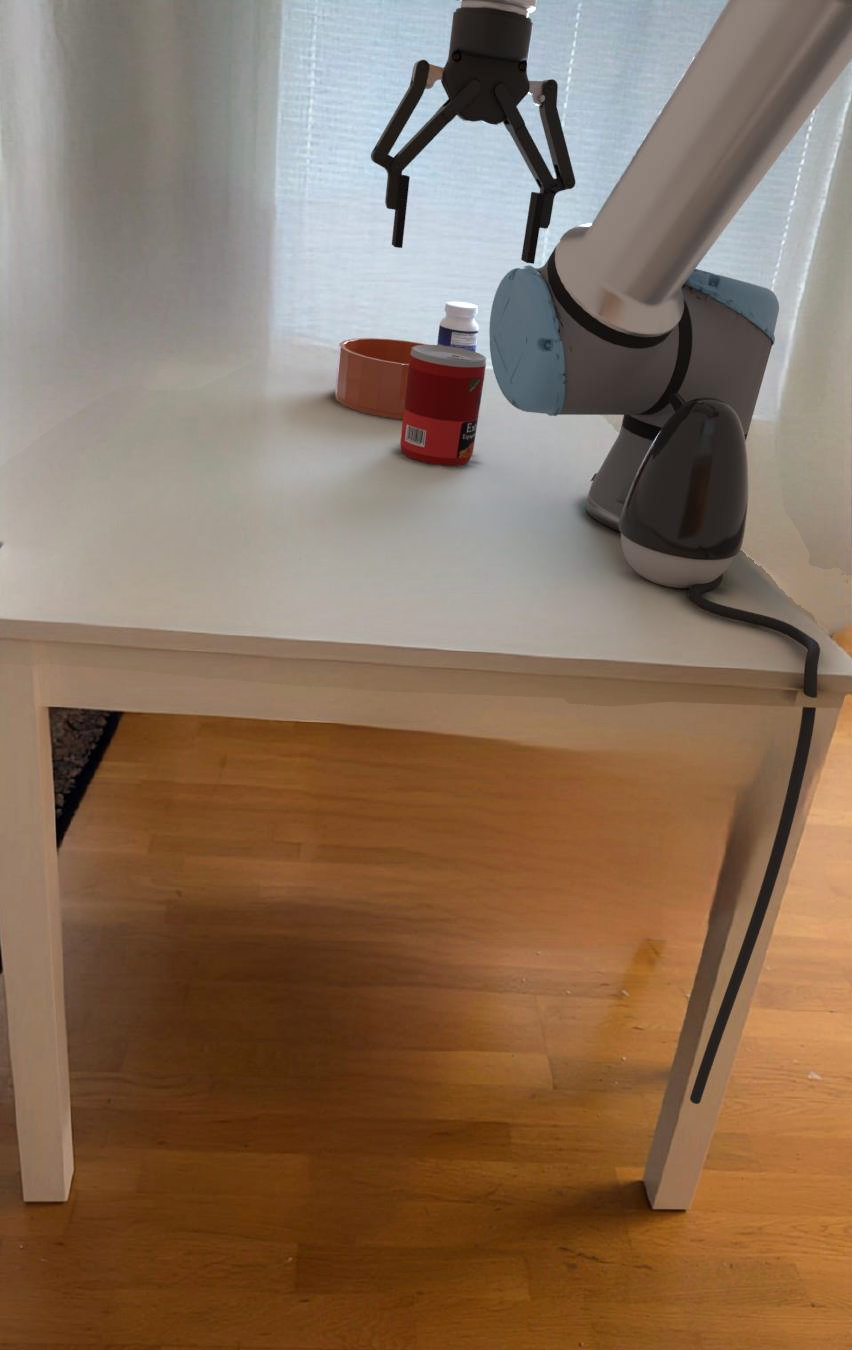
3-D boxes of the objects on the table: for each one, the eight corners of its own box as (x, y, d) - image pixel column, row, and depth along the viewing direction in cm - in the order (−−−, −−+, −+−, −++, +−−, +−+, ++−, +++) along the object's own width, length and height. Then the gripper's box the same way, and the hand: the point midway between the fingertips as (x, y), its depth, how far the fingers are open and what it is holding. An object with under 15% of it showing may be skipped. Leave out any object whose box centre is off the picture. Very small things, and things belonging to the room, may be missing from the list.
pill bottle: (430, 368, 159) (438, 299, 154) (467, 372, 160) (477, 303, 156) (437, 377, 154) (446, 305, 149) (475, 380, 155) (486, 309, 151)
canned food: (472, 470, 113) (488, 364, 108) (397, 460, 112) (409, 354, 107) (471, 451, 119) (485, 350, 114) (400, 442, 119) (411, 341, 114)
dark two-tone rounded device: (684, 553, 97) (726, 384, 90) (753, 599, 88) (806, 417, 82) (586, 554, 93) (623, 379, 86) (650, 603, 85) (695, 412, 78)
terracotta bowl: (472, 426, 130) (480, 372, 127) (340, 414, 127) (345, 358, 124) (449, 395, 144) (456, 345, 141) (330, 383, 141) (334, 333, 138)
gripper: (610, 34, 104) (570, 263, 114) (357, -6, 100) (337, 236, 109) (634, 29, 98) (590, 272, 107) (364, -15, 93) (343, 243, 103)
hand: (462, 254), depth 108 cm, fingers open, 13 cm apart
